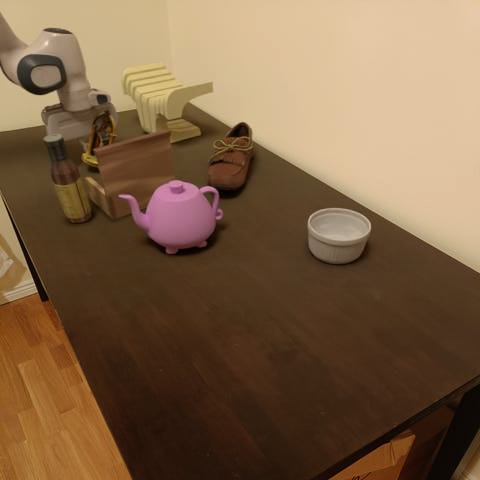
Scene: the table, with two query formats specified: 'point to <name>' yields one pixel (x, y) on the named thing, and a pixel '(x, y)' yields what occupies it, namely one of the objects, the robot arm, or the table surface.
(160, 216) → the teapot
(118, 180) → the wooden holder
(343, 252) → the ramekin
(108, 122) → the shrine
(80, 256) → the table surface
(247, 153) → the moccasin
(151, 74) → the slatted curved stool
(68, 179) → the sauce bottle
